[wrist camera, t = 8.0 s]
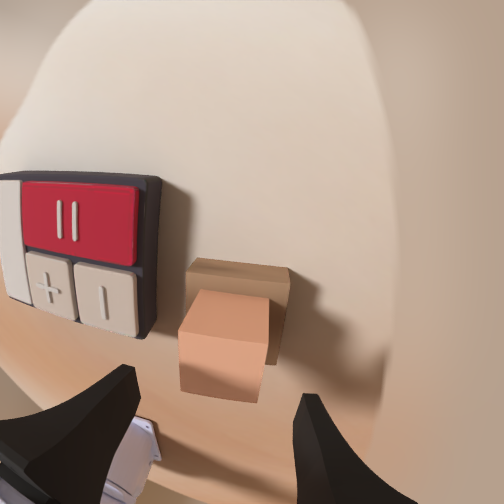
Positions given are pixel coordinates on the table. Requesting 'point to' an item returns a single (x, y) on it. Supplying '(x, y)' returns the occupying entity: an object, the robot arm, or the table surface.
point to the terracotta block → (224, 346)
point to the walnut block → (244, 290)
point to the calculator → (83, 246)
